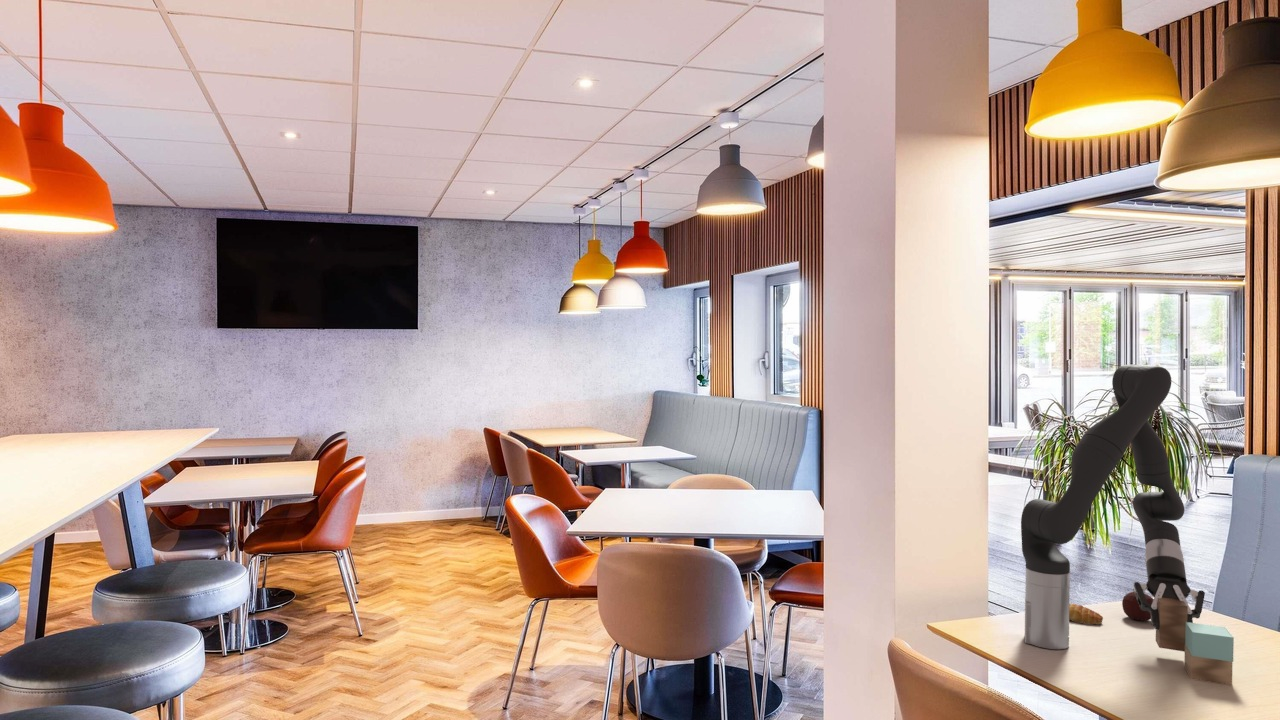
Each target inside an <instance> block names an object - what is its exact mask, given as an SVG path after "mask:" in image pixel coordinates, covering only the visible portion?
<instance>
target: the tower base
mask: <svg viewBox="0 0 1280 720" xmlns="http://www.w3.org/2000/svg"><path fill="white" fill-rule="evenodd" d="M1184 669H1185V671H1186V673H1187V675H1188V676H1189V679H1190V680H1196V681H1201V682H1209V683H1214V684H1220V685H1227V686H1233V662H1231V661H1224V660H1217V659H1210V658H1203V657H1196V656H1192V655H1191V653H1190V652H1189V650H1188V648H1187V647H1186V645H1185V652H1184Z"/></svg>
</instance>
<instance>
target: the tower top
mask: <svg viewBox="0 0 1280 720" xmlns="http://www.w3.org/2000/svg"><path fill="white" fill-rule="evenodd" d="M1234 639H1235V637H1234V636H1233V635H1232V634H1231V632H1230V631H1229V629H1228V628H1226V626H1221V625H1212V624H1206V623H1205V624H1204V623H1196V622H1193V623H1190V622H1186V635H1185V645H1186V647H1187V648H1188V650H1189V652H1190V653H1191V655H1192V656H1196V657H1203V658H1210V659H1217V660H1224V661H1231V662H1232V663H1233V662H1234V646H1235V645H1234V643H1235V642H1234V641H1235V640H1234Z"/></svg>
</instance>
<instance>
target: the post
mask: <svg viewBox="0 0 1280 720" xmlns="http://www.w3.org/2000/svg"><path fill="white" fill-rule="evenodd" d="M1157 610H1158V612H1159V621H1160V627H1159V630H1158V629H1155V642H1156V644H1157V647H1158V648H1160V649H1164V650H1165V649H1166V650H1171V651H1180V652H1183V653H1185V635H1186V622H1187V611H1188V606H1187V605H1186V603H1185V602H1184V601H1180V600H1178V599H1170V598H1163V597H1162V598H1158V608H1157Z"/></svg>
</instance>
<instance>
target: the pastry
mask: <svg viewBox="0 0 1280 720" xmlns="http://www.w3.org/2000/svg"><path fill="white" fill-rule="evenodd" d="M1103 620H1104V618H1103V616H1102V615H1101V614H1100V613H1099V612H1097V611H1094V610H1092V609H1090V608H1088V607H1085V606H1083V605H1081V604H1079V605H1078V604H1075V603H1069V621H1072V622H1074V623H1079V624H1080V623H1081V624H1085V625H1101V624H1102V623H1103Z"/></svg>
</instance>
